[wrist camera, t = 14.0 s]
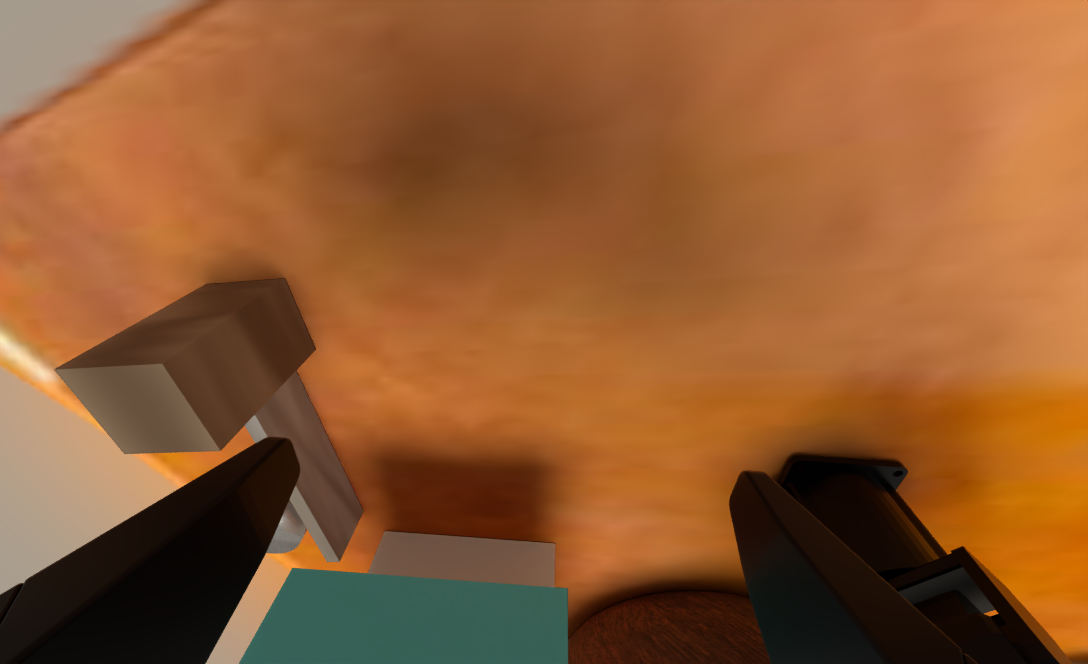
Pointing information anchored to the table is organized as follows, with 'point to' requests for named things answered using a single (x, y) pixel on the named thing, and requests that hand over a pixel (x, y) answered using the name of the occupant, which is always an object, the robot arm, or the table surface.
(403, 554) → the l-shaped block
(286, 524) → the steel puck
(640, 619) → the wooden bowl
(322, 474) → the grey mallet
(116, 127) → the table surface
